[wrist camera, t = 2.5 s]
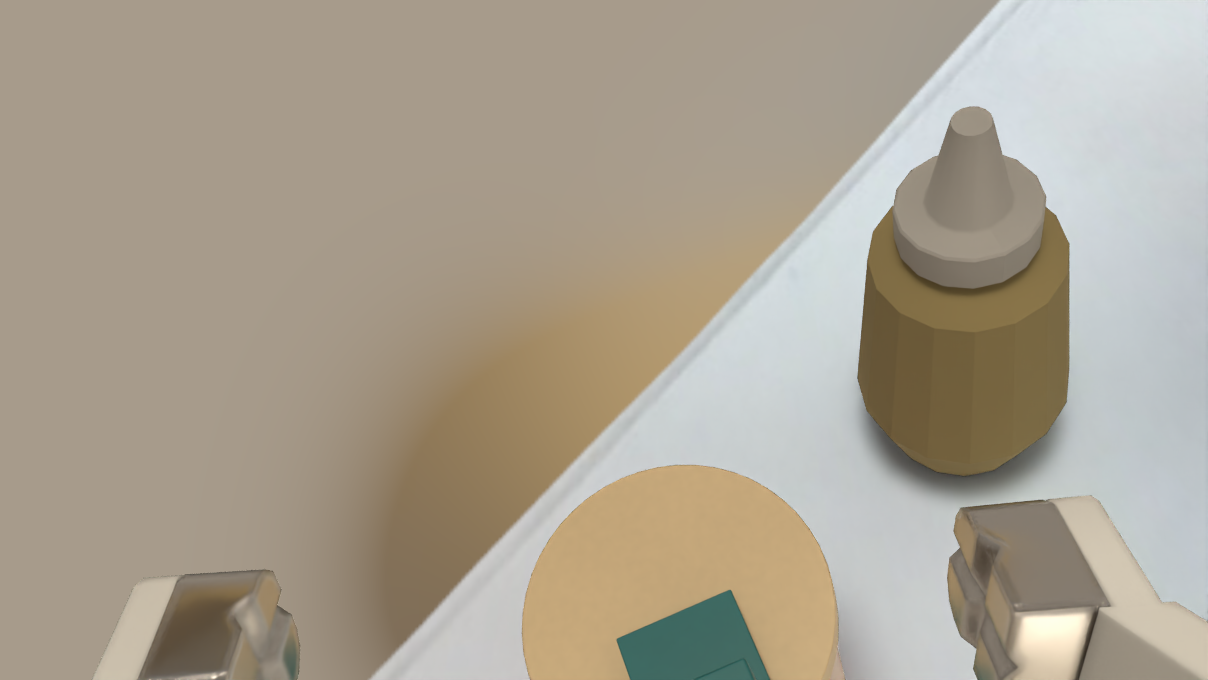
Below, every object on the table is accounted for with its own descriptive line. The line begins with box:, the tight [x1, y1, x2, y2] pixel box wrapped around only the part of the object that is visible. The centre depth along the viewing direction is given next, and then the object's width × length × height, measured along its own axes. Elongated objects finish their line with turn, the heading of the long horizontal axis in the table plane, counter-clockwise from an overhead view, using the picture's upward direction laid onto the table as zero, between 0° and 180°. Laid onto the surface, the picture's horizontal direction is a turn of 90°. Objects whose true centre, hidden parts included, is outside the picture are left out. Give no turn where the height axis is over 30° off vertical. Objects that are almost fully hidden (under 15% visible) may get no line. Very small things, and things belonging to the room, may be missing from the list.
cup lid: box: [522, 465, 838, 680], centre depth 31 cm, size 9×9×1 cm
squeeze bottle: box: [857, 107, 1069, 476], centre depth 37 cm, size 8×8×18 cm
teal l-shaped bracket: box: [616, 590, 770, 680], centre depth 27 cm, size 4×4×4 cm
